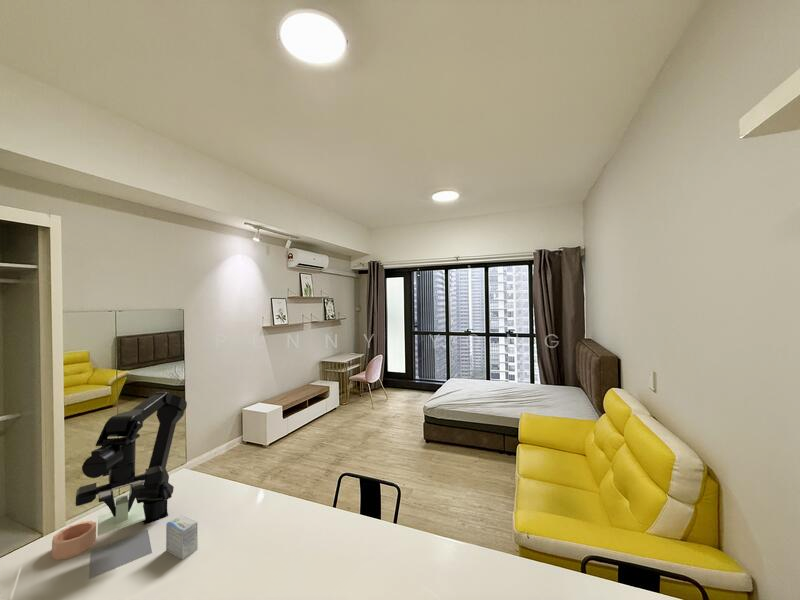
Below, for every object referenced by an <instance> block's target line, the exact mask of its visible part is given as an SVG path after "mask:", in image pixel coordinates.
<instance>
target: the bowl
mask: <svg viewBox="0 0 800 600" xmlns="http://www.w3.org/2000/svg"><path fill="white" fill-rule="evenodd" d="M96 542H97V522H96V521H93V520H87V521H81V522H77V523H75V524H71V525H69V526H67V527H65V528H63V529H61V530H59V531H58V532H57V533H56V534H55V535H54V536H53V537H52V541H51V558H52V559H53V560H57V561H59V560H65V559H66V560H67V559H69V558H70V559H71V558H73V557H75V556H77V555H80V554H82V553H83V552H86V550H89V549H90V548H91V547H92V546H93V545H94V544H96Z"/></svg>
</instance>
